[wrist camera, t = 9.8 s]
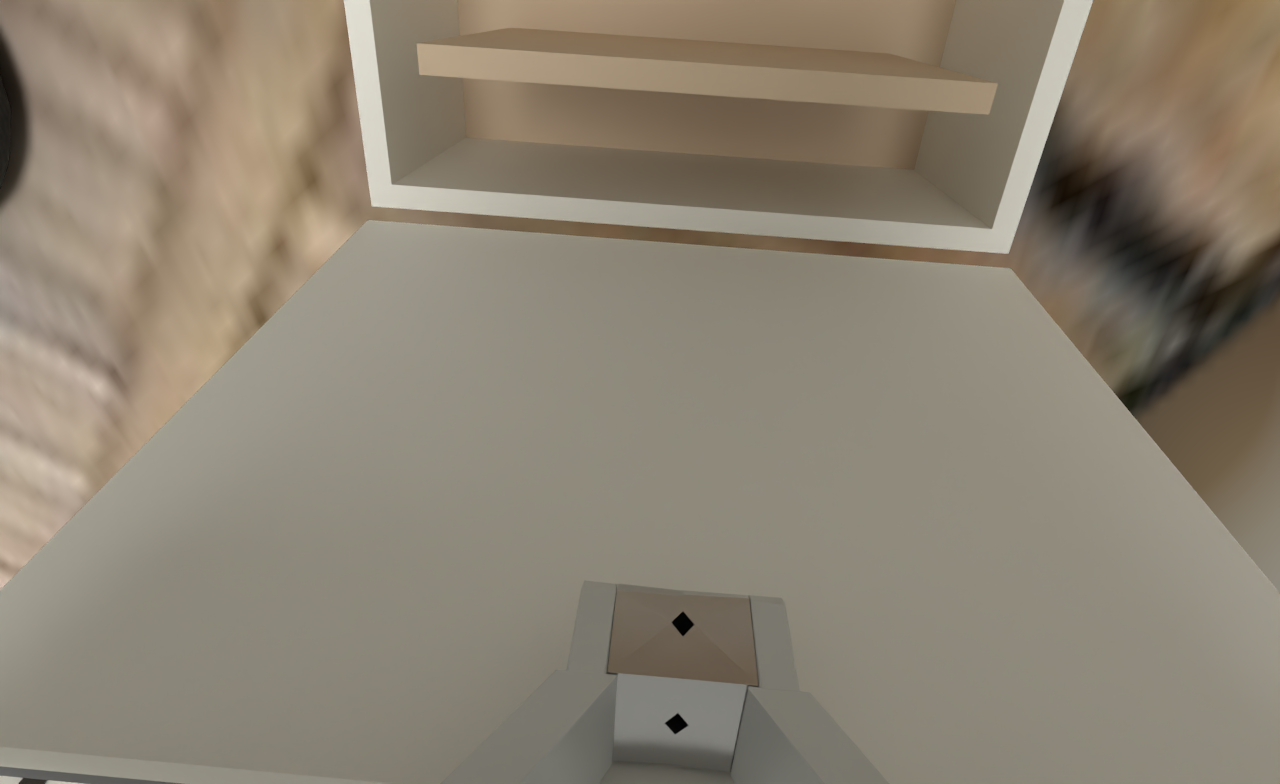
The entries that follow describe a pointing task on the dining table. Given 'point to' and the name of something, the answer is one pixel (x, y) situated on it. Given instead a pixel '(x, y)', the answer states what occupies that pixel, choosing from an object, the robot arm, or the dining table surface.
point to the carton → (717, 112)
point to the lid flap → (641, 526)
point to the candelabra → (4, 131)
